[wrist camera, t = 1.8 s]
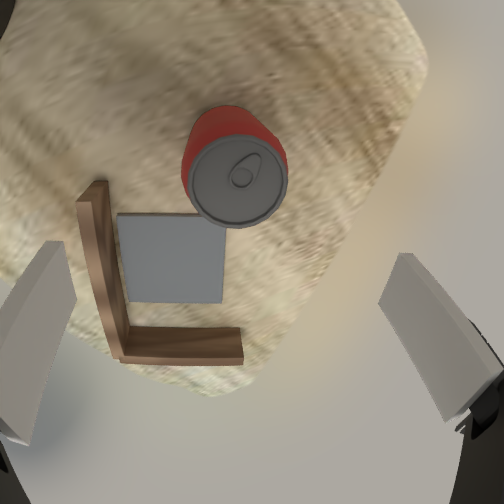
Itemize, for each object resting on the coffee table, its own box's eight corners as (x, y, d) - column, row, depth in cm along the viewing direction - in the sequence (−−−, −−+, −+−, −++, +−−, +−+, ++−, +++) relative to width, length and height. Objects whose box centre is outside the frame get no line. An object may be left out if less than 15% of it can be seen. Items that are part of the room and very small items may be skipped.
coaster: (117, 213, 29) (116, 216, 28) (226, 214, 31) (226, 217, 30) (129, 298, 35) (128, 301, 34) (221, 300, 36) (221, 303, 36)
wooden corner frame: (93, 181, 27) (75, 201, 22) (255, 182, 29) (263, 203, 25) (121, 333, 38) (114, 362, 33) (238, 335, 40) (242, 365, 36)
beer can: (276, 130, 27) (320, 168, 17) (236, 186, 29) (253, 254, 19) (215, 91, 24) (220, 101, 14) (176, 152, 27) (156, 204, 17)
